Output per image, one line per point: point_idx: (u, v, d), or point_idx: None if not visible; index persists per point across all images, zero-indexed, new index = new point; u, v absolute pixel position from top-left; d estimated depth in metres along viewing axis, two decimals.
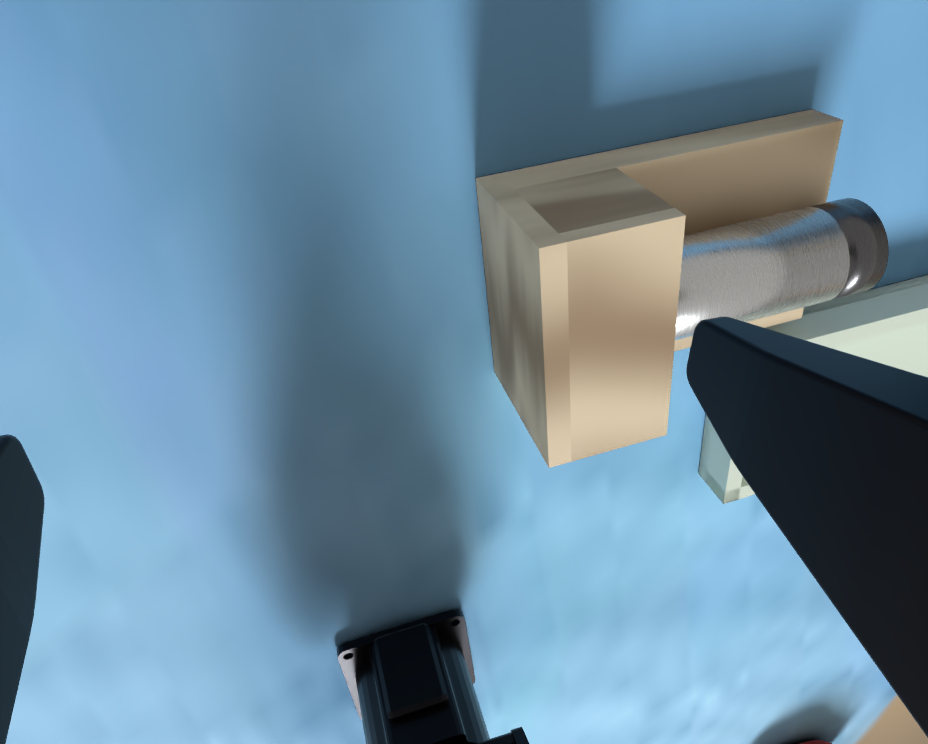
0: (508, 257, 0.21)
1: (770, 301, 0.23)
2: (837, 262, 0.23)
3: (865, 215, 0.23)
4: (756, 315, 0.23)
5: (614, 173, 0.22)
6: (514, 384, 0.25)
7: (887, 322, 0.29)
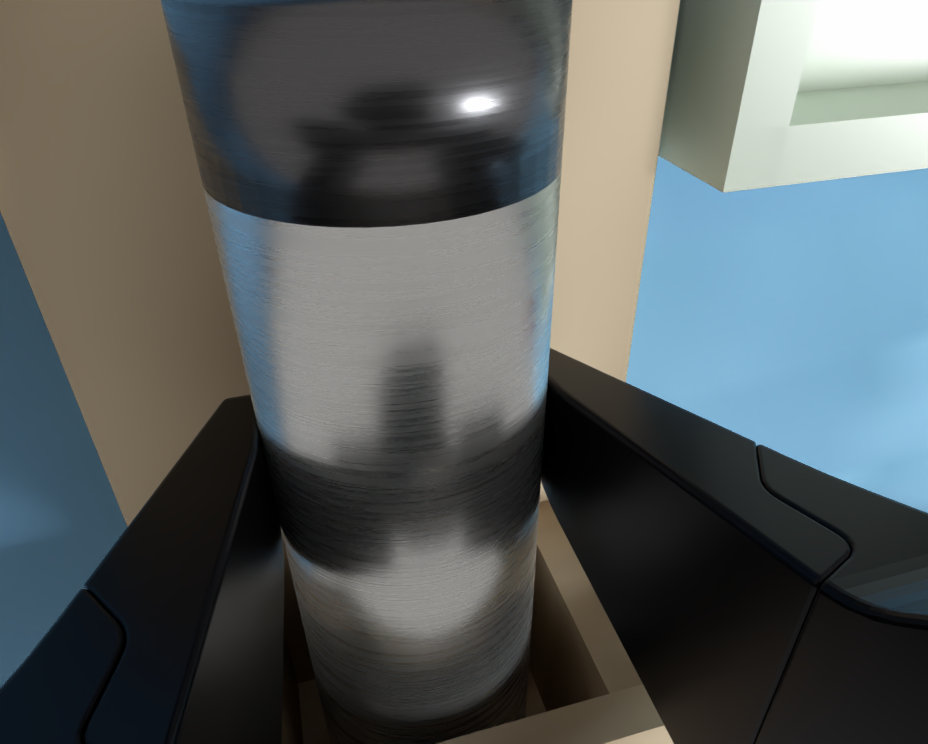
0: None
1: (464, 488, 0.07)
2: (356, 281, 0.06)
3: (189, 58, 0.05)
4: (509, 484, 0.07)
5: None
6: None
7: None
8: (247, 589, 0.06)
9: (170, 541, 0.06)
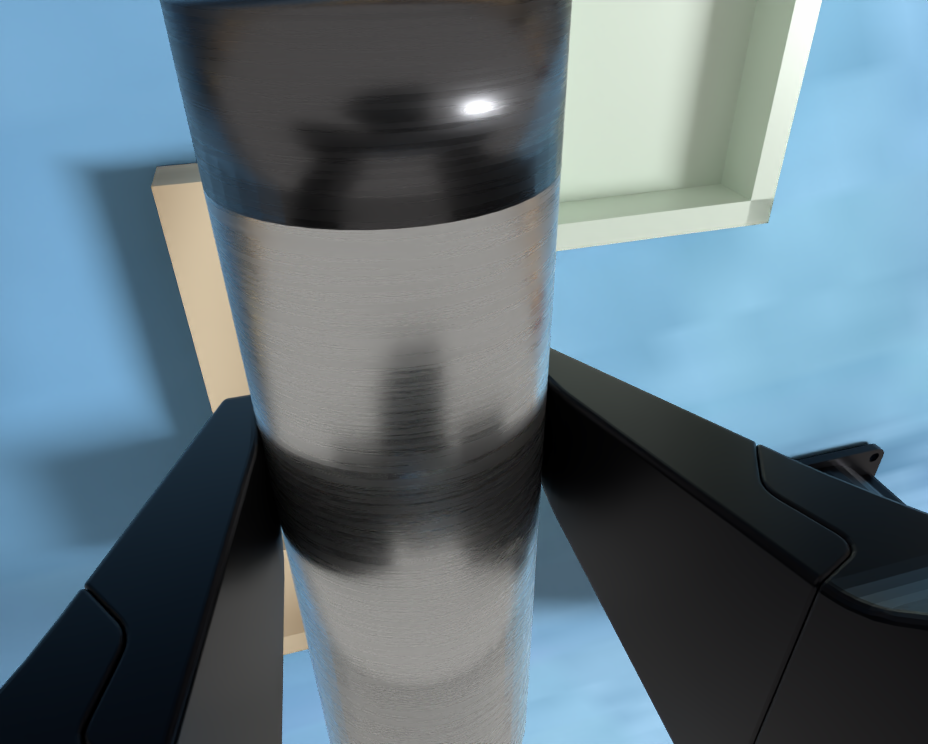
0: None
1: (464, 490, 0.07)
2: (355, 283, 0.06)
3: (190, 61, 0.05)
4: (509, 486, 0.07)
5: None
6: None
7: None
8: (247, 589, 0.06)
9: (170, 541, 0.06)
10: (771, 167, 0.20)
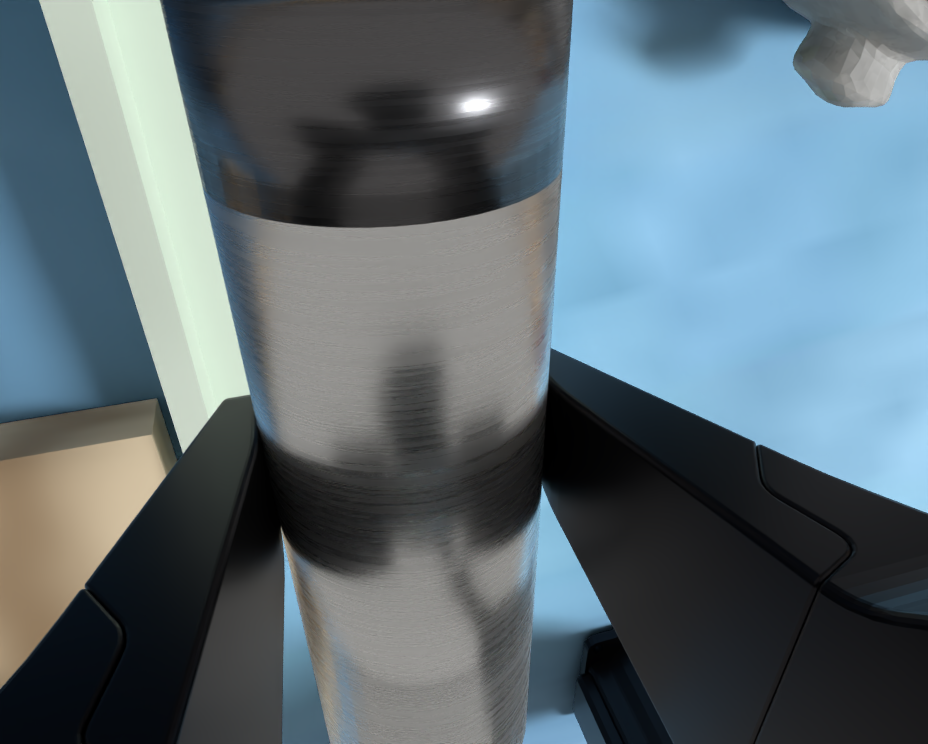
0: None
1: (464, 488, 0.07)
2: (357, 282, 0.06)
3: (189, 58, 0.05)
4: (510, 485, 0.07)
5: None
6: None
7: (147, 302, 0.15)
8: (247, 589, 0.06)
9: (170, 541, 0.06)
10: None
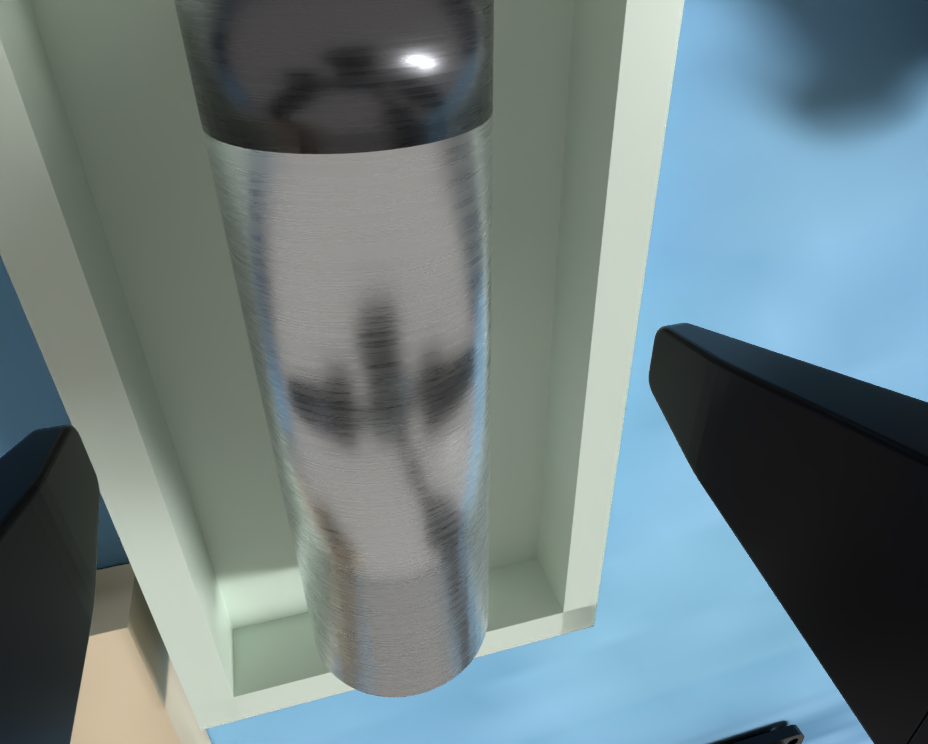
0: None
1: (411, 382, 0.09)
2: (316, 197, 0.07)
3: (189, 22, 0.07)
4: (452, 386, 0.09)
5: None
6: None
7: (114, 482, 0.10)
8: None
9: None
10: (585, 579, 0.15)
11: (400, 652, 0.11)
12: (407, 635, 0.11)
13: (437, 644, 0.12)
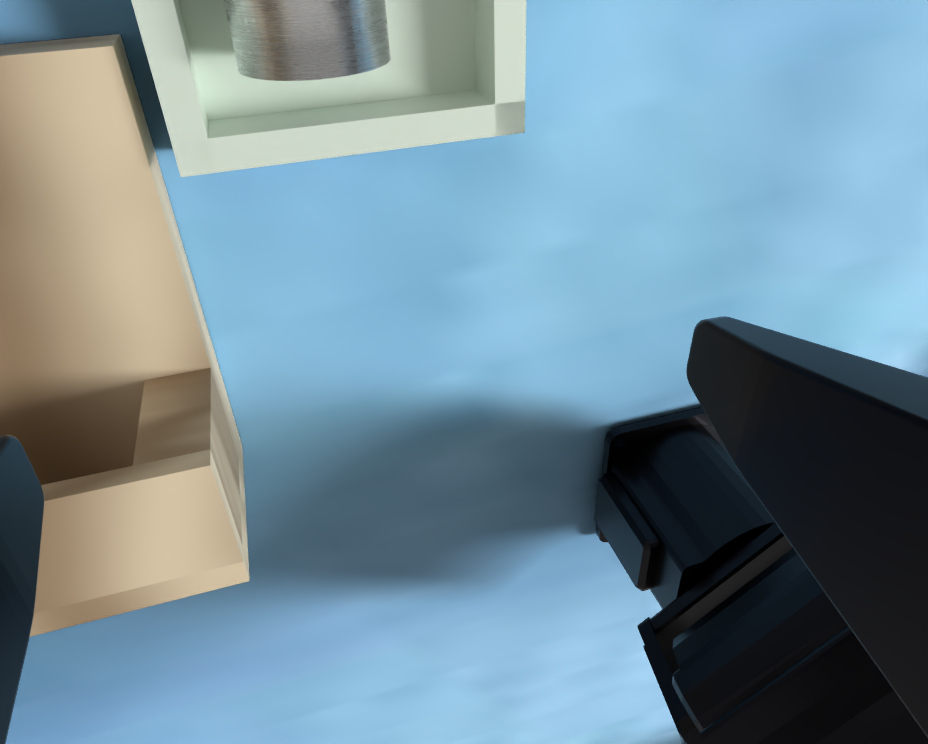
0: None
1: None
2: None
3: None
4: None
5: None
6: None
7: None
8: None
9: None
10: (512, 61, 0.17)
11: (263, 12, 0.14)
12: None
13: (294, 14, 0.14)
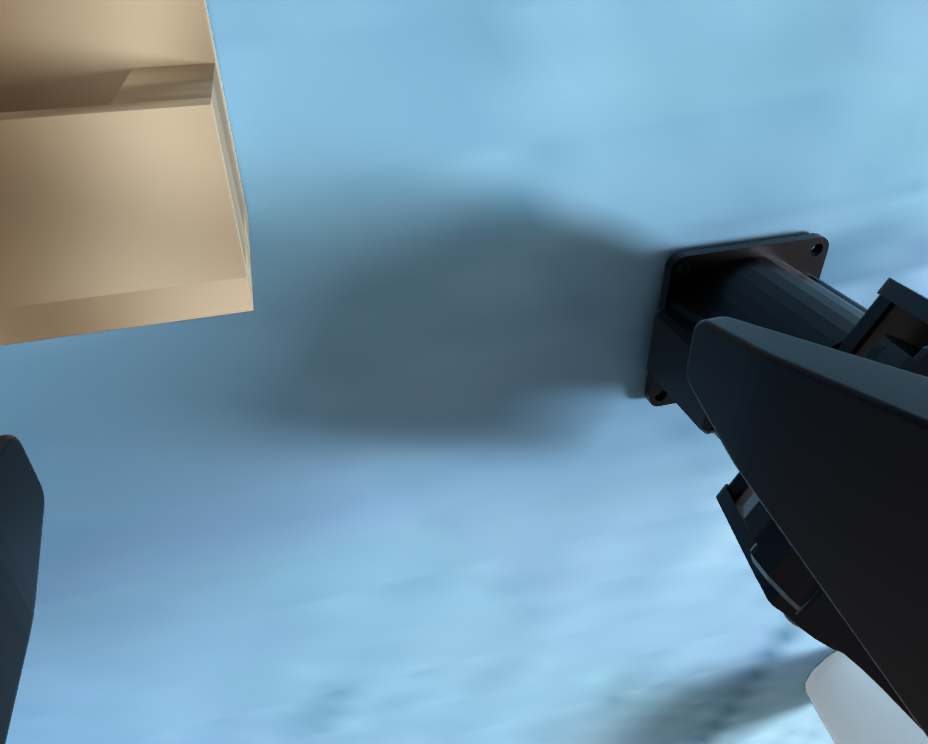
0: None
1: None
2: None
3: None
4: None
5: None
6: None
7: None
8: None
9: None
10: None
11: None
12: None
13: None
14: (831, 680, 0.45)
